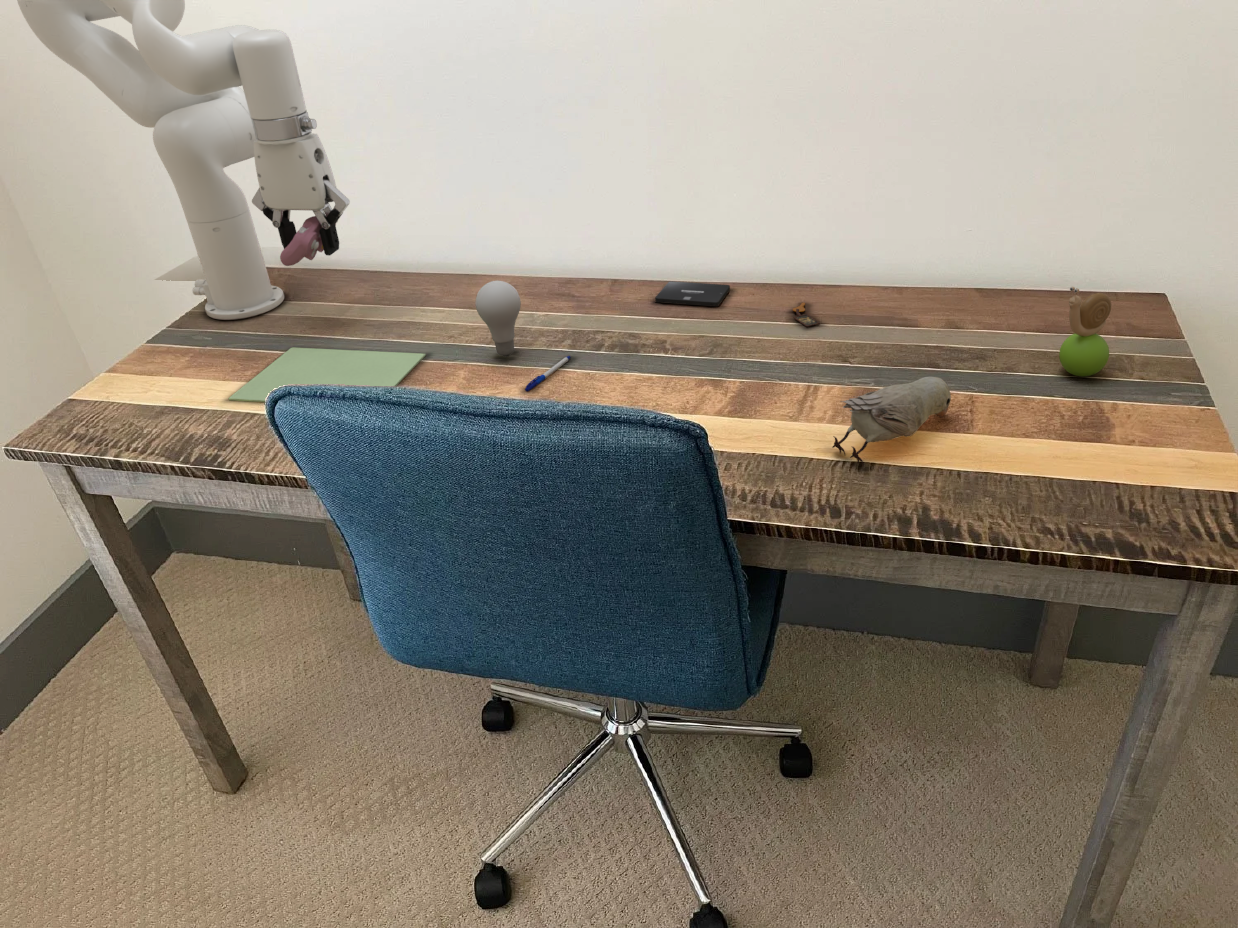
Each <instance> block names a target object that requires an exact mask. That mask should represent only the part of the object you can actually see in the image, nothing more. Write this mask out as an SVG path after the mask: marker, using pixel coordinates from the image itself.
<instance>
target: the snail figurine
mask: <svg viewBox="0 0 1238 928" xmlns="http://www.w3.org/2000/svg"><path fill="white" fill-rule="evenodd" d="M1069 291H1070V297H1069V299H1068V306H1069V309H1068V320H1069V321H1068V322H1069V326H1070V329H1071V331H1072V332H1073V333H1072V334H1071V335H1069V336H1068V337H1066V338H1065V340H1064V341H1063V342H1062V344H1061V345H1060V348H1059V352H1058V356H1059V362H1060V365H1061V366H1062V367H1063V369H1064V370H1065V371H1066V372H1067V373H1069V374H1071V375H1073V376H1076V377H1081V378H1082V377H1090V376H1094V375H1096V374H1097V373H1099V372H1101V371H1102V370H1103V369H1104V368H1105V366H1106V365H1107V363H1108V361H1109V358H1110V348H1109V345H1108V342H1107V341H1106V340H1105V338H1104V337H1102V336H1101V335H1100V334H1098V333H1099V332H1101V330H1102V329H1104V327H1105V325H1106V323H1107V319H1108V318H1109V316H1110V314H1111V311H1112V301H1111V298H1110V297H1109V295H1107V294H1106V293H1103V292H1096V293H1093V294H1091V295H1089V296H1087V297H1086V298H1085V299H1084V300H1083V301H1082V297H1081V296H1079V295H1078V294H1079V293H1080V288H1078V287H1077V288H1076V287H1075V286H1070V287H1069ZM1073 292H1074V293H1075V295H1072V293H1073Z"/></svg>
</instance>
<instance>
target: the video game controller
mask: <svg viewBox="0 0 1238 928" xmlns="http://www.w3.org/2000/svg"><path fill="white" fill-rule="evenodd" d="M335 226H337V223H336V224H335ZM320 229H322V226H321V224H320V223H319V221H318V219H317V217H316V216H315V215H313V216H310V217H308V218H306V219H305V220H304V221H303V223H302V225H301V226H300V227H299V229H298V230H297V231H296V232H297V233H296V234H295V236H294V238H293V240H292V241H291V242H290V244H289V245H288V246H287V247H286V248H285V249H284V248H283V250H282V251H281V253H280V256H279V259H280V262H281V263H282V265H283V266H286V267H290V266H294V265H297V264H299V262H300V261H302V260H303V259H304V258H305V259H307V260H309V261H313V260H314V259H315V257H316V256H317V252H319V253H323V252H324V249H323V245H322V240H321V236H320V232H319V231H320Z"/></svg>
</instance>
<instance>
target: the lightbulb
mask: <svg viewBox="0 0 1238 928" xmlns="http://www.w3.org/2000/svg"><path fill="white" fill-rule="evenodd" d="M521 304H522V301H521V297H520V293H519V292H518V290H517V289H516V288H515V287H514V286H513V285H512V284H510V283H509V282H506V281H504V280H491V281H489V282H487V283H485V284H484V285H483V286H481V287H480V289H479V290H478V292H477V294H476V297H475V310H476V311H477V314H478V316H479V317H480V319H481V320H482V322H483V323H484V324H485V325H486V326H487V328H488V330H489V332H490V335H491V339H492V341H493V342H494V346H495V351H496V354H497V355H499V356H502V357H503V358H508V357H510V356H511V355H512V354H513V353H514V352H515V338H516V337H515V325H516V321H517V320H518V316H519V313H520V311H521Z"/></svg>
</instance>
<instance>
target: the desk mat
mask: <svg viewBox="0 0 1238 928" xmlns="http://www.w3.org/2000/svg"><path fill="white" fill-rule="evenodd" d="M426 355H427V354H426V353H418V352H417V353H416V352H399V351H398V352H397V351H378V350H376V351H375V350H353V349H336V348H335V349H334V348H313V347H312V348H311V347H290V348H289V349H288V350H287V351H285V352H284V353H282V354H281V355H280V356H279V357H277V358H276V359H275V360H274V361H272V362H271V363H270V364H269V365H268V366H266V367H265V368H264V369H263V370H261V371H260V372H259V373H258V374H257V375H255V376H253V377H252V378H251V379H250V380H249V381H248V382H246V383H245V384H244V385H243V386H242V387H240V388H239V389H238V390H236V392H234V393H233V394H232V395H230V396H229V397H228V401H236V402H237V401H239V402H251V403H266V402H265V398H266V397H267V395H268V393H270V391H272V390H273V389H274V388H278V387H279V386H283V385H288V384H345V385H370V386H396V387H397V386H398V385H399V384H400V383H401V382H402V381H403V380H404V379H405V378H406V377H407V376H408V374H409V373H410V372H411V371H413V370H414V368H415V367H416V366H418V365H419V363H421V362H422V360H423V359H424V358H426V357H427V356H426Z"/></svg>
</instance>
